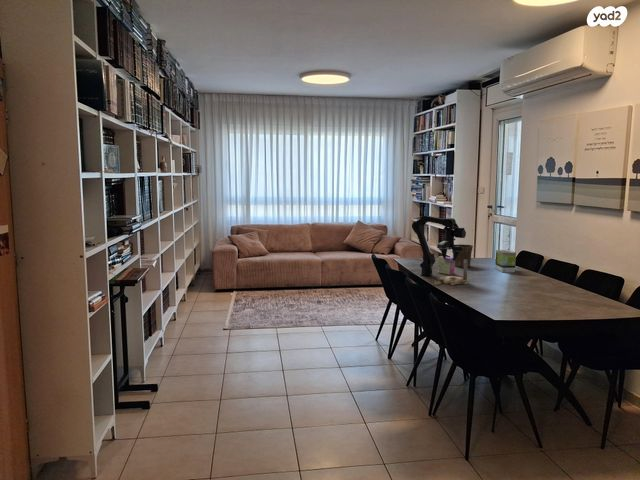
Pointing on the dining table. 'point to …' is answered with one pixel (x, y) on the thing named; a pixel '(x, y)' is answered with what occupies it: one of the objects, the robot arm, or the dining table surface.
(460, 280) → the index wheel
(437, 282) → the pointer
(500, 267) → the tea box
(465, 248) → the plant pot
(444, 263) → the box
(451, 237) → the robot arm
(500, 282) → the dining table surface
